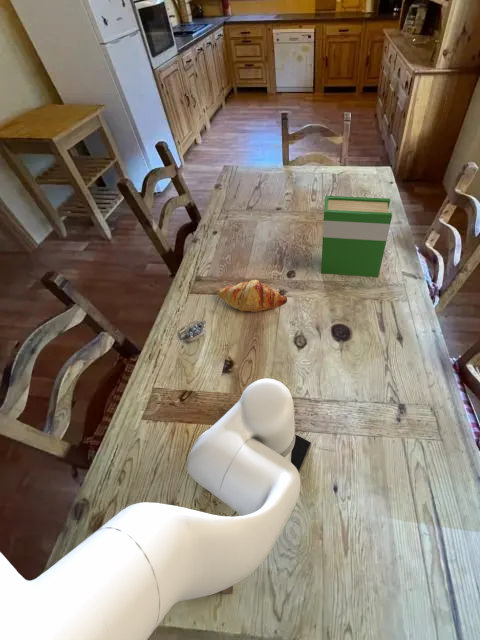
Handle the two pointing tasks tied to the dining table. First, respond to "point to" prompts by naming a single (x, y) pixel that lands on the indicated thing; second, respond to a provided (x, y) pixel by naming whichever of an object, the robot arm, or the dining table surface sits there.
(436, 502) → the dining table surface
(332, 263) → the hardback book
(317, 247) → the dining table surface
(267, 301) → the croissant
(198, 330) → the blueberries
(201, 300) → the dining table surface
